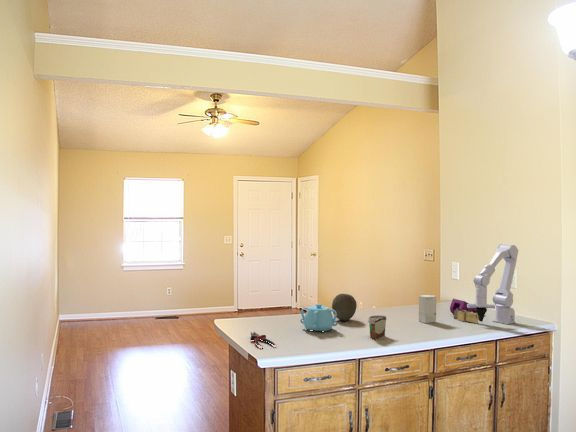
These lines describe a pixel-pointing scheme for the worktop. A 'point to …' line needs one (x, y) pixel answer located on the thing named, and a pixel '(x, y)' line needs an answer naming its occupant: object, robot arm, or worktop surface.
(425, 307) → the skincare box
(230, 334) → the worktop surface
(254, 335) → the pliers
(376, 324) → the food container
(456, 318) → the fixed leaf
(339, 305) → the dark brown ball
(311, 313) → the decorative pot
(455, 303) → the mounting bracket
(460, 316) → the loose leaf
